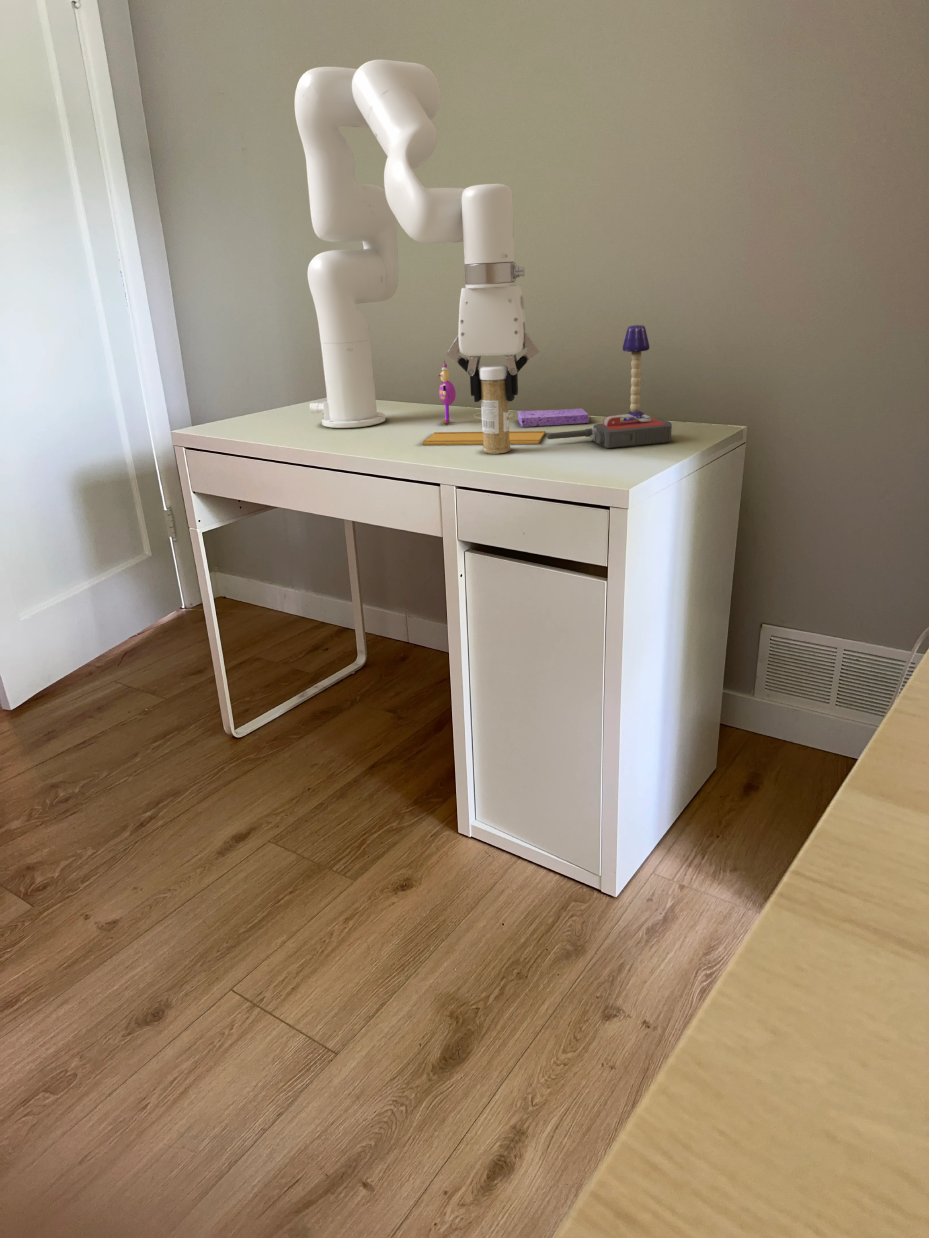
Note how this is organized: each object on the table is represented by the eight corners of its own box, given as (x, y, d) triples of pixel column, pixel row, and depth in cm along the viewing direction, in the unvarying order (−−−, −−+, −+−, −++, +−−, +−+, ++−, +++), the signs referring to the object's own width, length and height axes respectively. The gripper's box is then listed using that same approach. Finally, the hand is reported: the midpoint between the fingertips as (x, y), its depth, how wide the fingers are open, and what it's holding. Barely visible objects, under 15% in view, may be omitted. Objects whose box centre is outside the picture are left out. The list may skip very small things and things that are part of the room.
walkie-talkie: (657, 432, 145) (545, 443, 142) (658, 406, 143) (544, 416, 140) (680, 442, 137) (561, 454, 134) (681, 414, 135) (560, 425, 132)
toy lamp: (649, 423, 153) (652, 326, 146) (623, 425, 153) (625, 327, 146) (644, 419, 157) (647, 324, 151) (619, 420, 157) (620, 325, 151)
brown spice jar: (516, 451, 137) (513, 365, 132) (493, 456, 135) (489, 368, 130) (499, 447, 141) (496, 363, 136) (476, 451, 139) (473, 366, 134)
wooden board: (422, 445, 146) (422, 442, 146) (435, 434, 154) (435, 431, 154) (538, 444, 142) (538, 441, 142) (545, 433, 150) (545, 430, 150)
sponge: (517, 420, 162) (517, 410, 162) (583, 417, 162) (583, 407, 162) (520, 427, 156) (520, 417, 155) (589, 423, 156) (589, 413, 155)
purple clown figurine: (442, 418, 169) (438, 356, 164) (458, 418, 169) (454, 355, 164) (439, 429, 158) (435, 362, 154) (456, 428, 158) (452, 361, 154)
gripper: (549, 273, 129) (550, 395, 136) (441, 278, 133) (448, 397, 140) (542, 274, 123) (544, 403, 130) (429, 280, 126) (437, 405, 133)
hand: (494, 399), depth 135 cm, fingers closed on brown spice jar, 4 cm apart
